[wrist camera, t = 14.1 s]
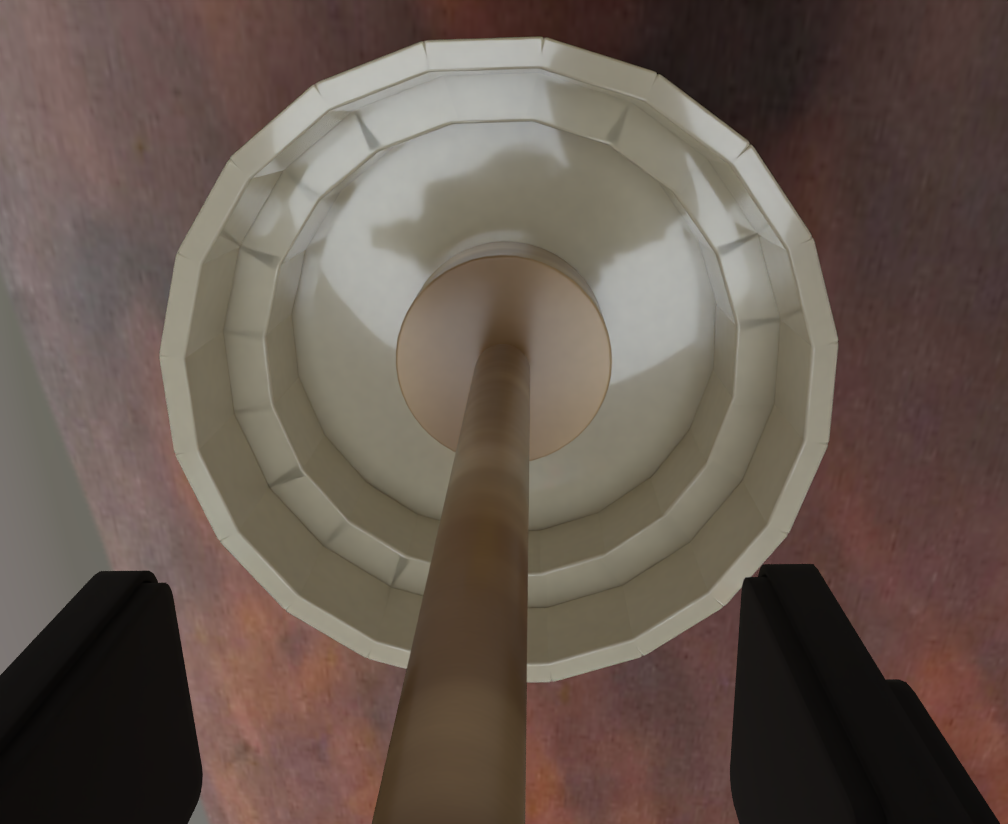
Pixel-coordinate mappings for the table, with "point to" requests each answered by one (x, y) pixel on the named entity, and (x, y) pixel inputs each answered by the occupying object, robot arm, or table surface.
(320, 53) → the table surface
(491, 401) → the rod on round base
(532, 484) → the bowl
